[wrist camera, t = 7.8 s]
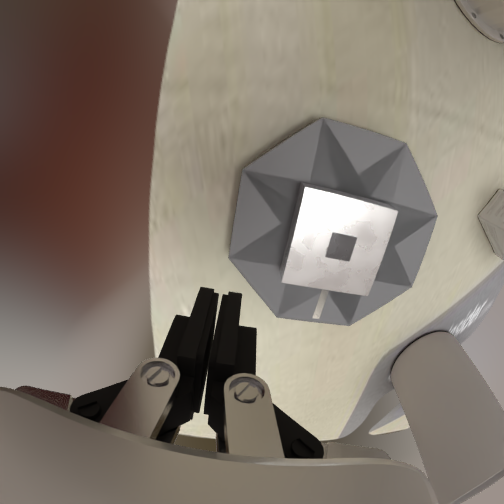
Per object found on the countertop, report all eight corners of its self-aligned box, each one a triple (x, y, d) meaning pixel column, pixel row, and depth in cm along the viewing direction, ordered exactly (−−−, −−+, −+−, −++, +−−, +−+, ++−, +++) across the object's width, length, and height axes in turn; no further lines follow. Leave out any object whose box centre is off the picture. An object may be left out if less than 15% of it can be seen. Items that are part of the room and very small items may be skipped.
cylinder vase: (382, 355, 37) (440, 505, 14) (453, 315, 34) (538, 440, 12) (395, 395, 41) (436, 515, 18) (455, 362, 39) (513, 469, 16)
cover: (387, 204, 26) (398, 211, 24) (360, 284, 29) (368, 296, 27) (301, 182, 26) (305, 187, 23) (279, 270, 29) (281, 283, 27)
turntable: (443, 159, 25) (451, 161, 24) (388, 321, 33) (392, 329, 32) (254, 105, 24) (254, 103, 23) (222, 300, 32) (221, 308, 31)
